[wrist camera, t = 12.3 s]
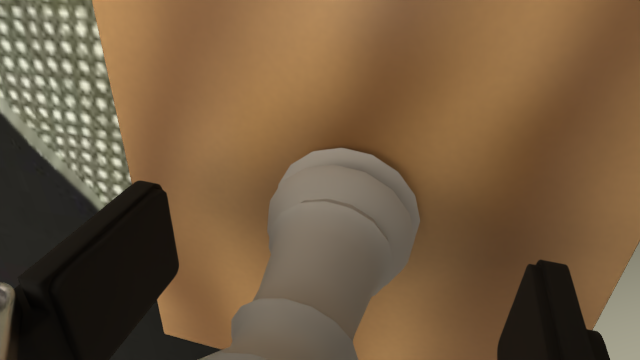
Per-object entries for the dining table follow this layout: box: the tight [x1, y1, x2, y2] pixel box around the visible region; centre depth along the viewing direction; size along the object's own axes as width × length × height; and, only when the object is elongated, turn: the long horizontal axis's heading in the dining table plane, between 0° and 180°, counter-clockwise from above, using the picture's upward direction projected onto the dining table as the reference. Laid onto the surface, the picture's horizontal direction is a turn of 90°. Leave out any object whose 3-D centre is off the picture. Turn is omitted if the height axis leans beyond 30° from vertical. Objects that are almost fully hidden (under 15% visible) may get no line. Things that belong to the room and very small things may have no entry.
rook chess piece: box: [199, 148, 420, 360], centre depth 11 cm, size 4×4×8 cm
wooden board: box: [92, 0, 640, 360], centre depth 14 cm, size 16×20×1 cm
